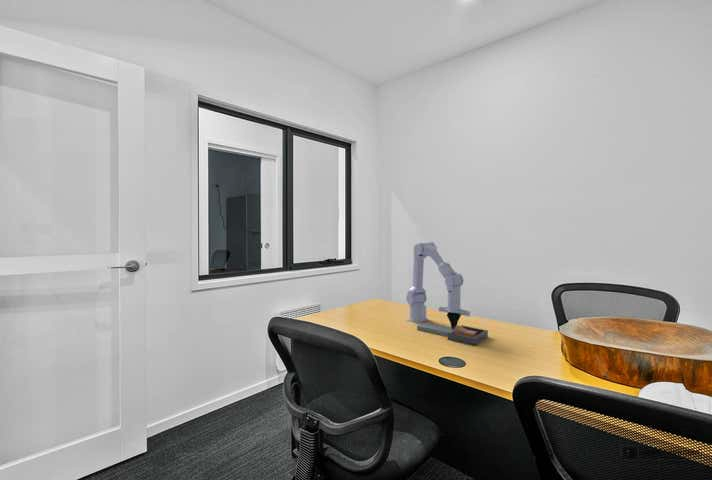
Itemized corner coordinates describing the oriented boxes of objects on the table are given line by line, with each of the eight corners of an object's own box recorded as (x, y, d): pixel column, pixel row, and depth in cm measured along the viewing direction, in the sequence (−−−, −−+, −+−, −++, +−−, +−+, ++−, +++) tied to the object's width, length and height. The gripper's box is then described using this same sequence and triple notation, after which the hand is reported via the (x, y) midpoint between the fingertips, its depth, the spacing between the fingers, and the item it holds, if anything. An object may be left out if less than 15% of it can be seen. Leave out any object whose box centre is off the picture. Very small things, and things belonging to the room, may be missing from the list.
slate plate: (425, 326, 169) (425, 322, 169) (458, 333, 157) (458, 329, 157) (417, 329, 163) (417, 325, 163) (451, 337, 151) (451, 333, 151)
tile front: (467, 335, 152) (467, 329, 152) (476, 337, 149) (476, 331, 149) (463, 337, 149) (463, 332, 149) (472, 339, 146) (472, 334, 146)
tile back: (456, 329, 156) (458, 325, 155) (465, 334, 153) (467, 329, 152) (452, 332, 152) (454, 327, 152) (461, 336, 149) (463, 331, 149)
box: (461, 331, 159) (461, 325, 159) (487, 336, 151) (487, 330, 151) (447, 339, 148) (447, 332, 148) (475, 345, 140) (475, 338, 140)
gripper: (435, 299, 155) (435, 327, 156) (465, 303, 146) (465, 334, 146) (442, 296, 161) (442, 324, 161) (471, 301, 151) (471, 330, 152)
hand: (453, 328), depth 154 cm, fingers closed
